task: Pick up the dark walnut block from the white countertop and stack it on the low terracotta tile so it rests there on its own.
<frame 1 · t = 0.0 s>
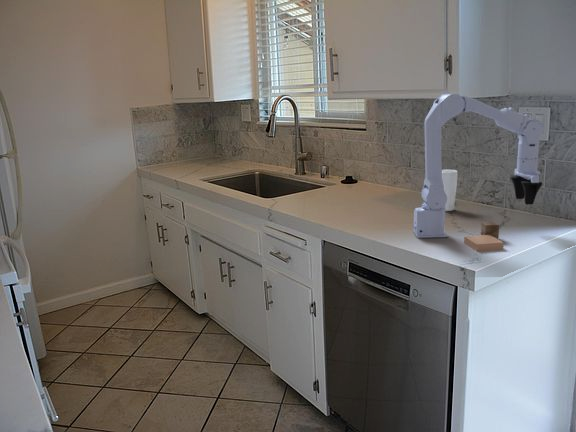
hand: (524, 201, 161), 10 cm above the worktop, fingers open, 7 cm apart
walnut block: (489, 239, 159), on the worktop
drinking glass: (446, 210, 196), on the worktop
terracotta tile: (483, 247, 152), on the worktop
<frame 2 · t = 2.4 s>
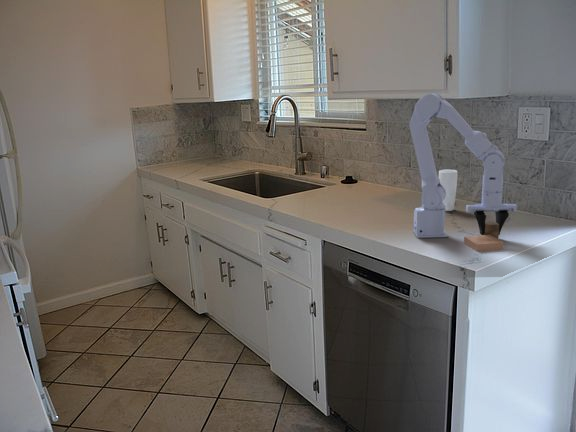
hand: (489, 234, 158), 1 cm above the worktop, fingers closed on walnut block, 4 cm apart
walnut block: (489, 238, 159), on the worktop, touching gripper
everything else where it was.
when the fingers open (5 cm above the worktop, at t = 5.5 s): walnut block stays where it is, point 2 cm above the worktop.
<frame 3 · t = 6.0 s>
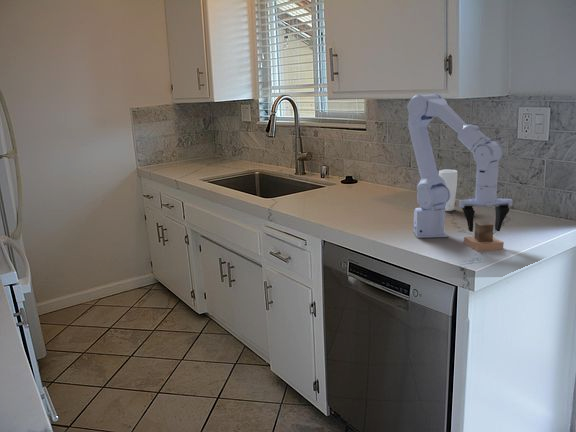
hand: (483, 230, 151), 5 cm above the worktop, fingers open, 7 cm apart
walnut block: (483, 239, 152), point 2 cm above the worktop
everything else where it was.
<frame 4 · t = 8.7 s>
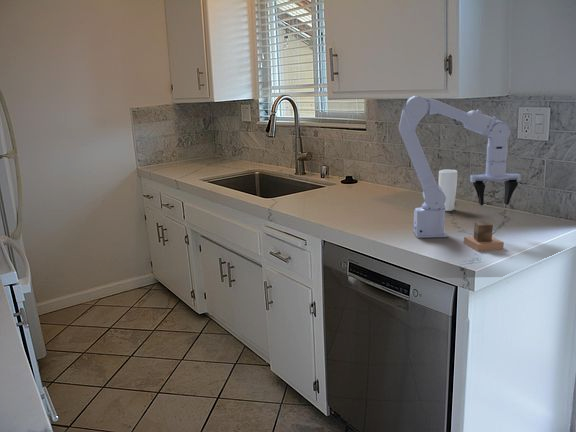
hand: (493, 204, 160), 10 cm above the worktop, fingers open, 7 cm apart
walnut block: (482, 239, 152), point 2 cm above the worktop, touching terracotta tile
terracotta tile: (483, 247, 152), on the worktop, touching walnut block
everything else where it was.
at the end: walnut block 0.4 cm off-centre on the terracotta tile, point 2.5 cm above the terracotta tile's base; walnut block tilted 0°; the gripper is holding nothing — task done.
